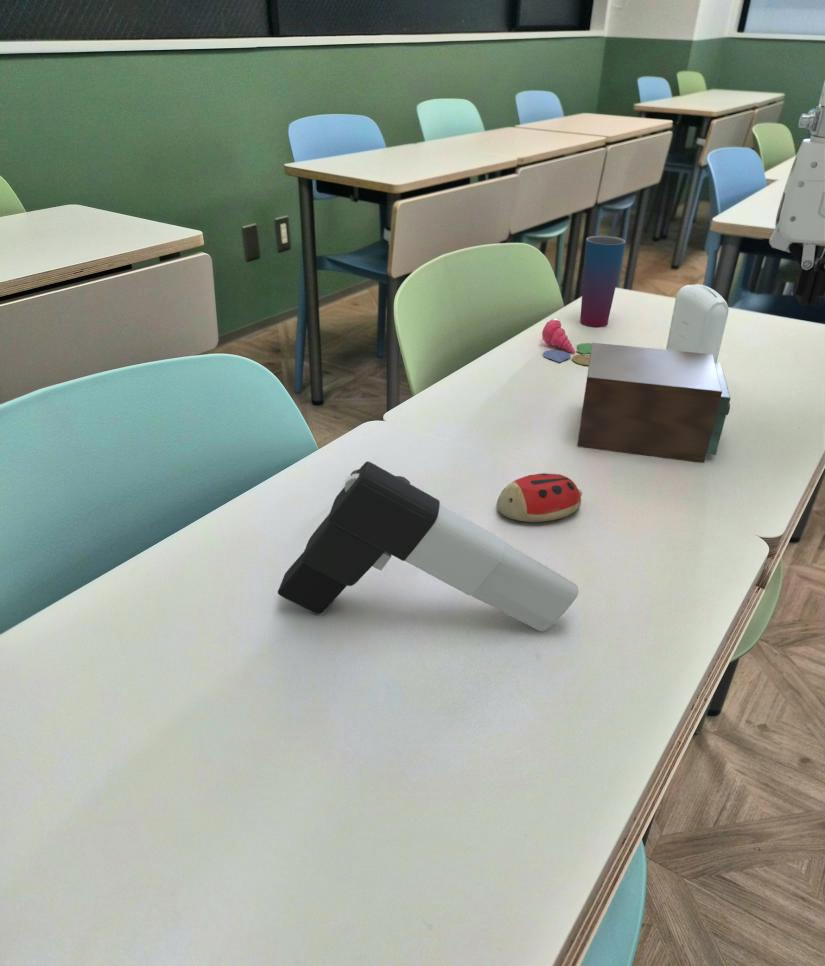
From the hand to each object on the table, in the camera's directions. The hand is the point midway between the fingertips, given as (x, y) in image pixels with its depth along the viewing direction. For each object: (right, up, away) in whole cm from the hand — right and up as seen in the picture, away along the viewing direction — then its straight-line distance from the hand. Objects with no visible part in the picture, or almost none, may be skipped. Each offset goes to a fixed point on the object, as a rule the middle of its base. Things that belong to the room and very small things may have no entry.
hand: (805, 301), depth 85 cm
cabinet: (-15, -14, +13) cm, 25 cm away
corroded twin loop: (-49, -22, 0) cm, 54 cm away
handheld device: (-44, -33, -18) cm, 58 cm away
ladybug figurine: (-32, -24, -3) cm, 40 cm away
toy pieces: (-19, +1, +38) cm, 43 cm away
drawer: (-13, -14, +12) cm, 22 cm away
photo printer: (0, -1, +35) cm, 35 cm away
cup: (-12, +9, +52) cm, 54 cm away
